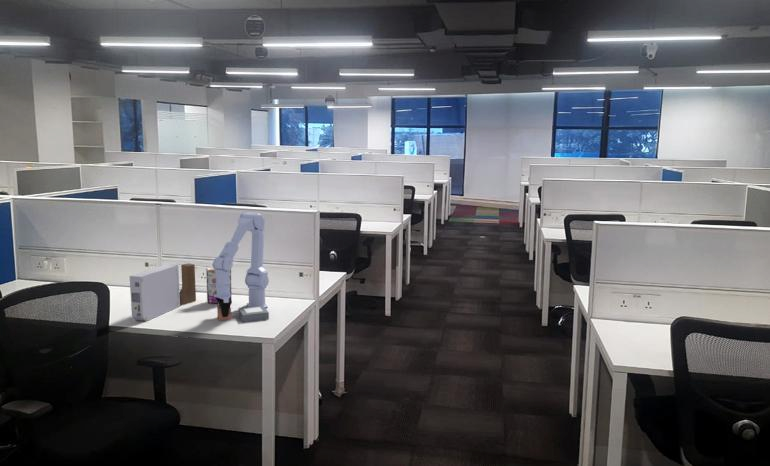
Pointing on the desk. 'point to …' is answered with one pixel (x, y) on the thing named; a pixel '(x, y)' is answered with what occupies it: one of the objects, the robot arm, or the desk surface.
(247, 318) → the grey square frame
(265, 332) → the desk surface
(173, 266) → the game console
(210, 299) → the candy bar box
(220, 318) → the salmon brown cube
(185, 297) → the wooden block
